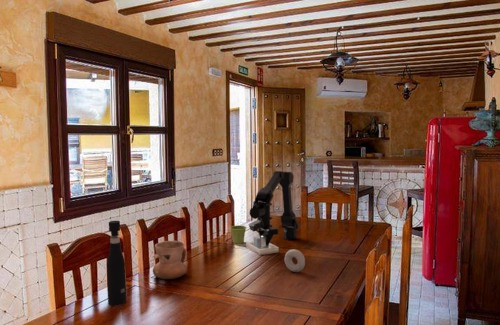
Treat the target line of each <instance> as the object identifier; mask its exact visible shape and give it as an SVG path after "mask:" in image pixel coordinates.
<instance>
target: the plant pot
mask: <svg viewBox="0 0 500 325" xmlns="http://www.w3.org/2000/svg"><path fill="white" fill-rule="evenodd" d="M229 229H230V231H231V238H232V243H233V244H235V245H237V244H238V245H239V244H244V243H245V242H244V241H245V236H246V235H245V234H246V230H247V226H245V225H232V226H230V227H229Z"/></svg>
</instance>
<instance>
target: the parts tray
mask: <svg viewBox="0 0 500 325" xmlns="http://www.w3.org/2000/svg"><path fill="white" fill-rule="evenodd" d="M245 248H247V249H248V250H250V251H252V252H254V253H255V254H257V255H259V256H262V255H270V254H275V253H279V248H280V247H279V246H277V245H275V244H274V243H273V244H272V243H269V248H262V247H260V248H257V247H255V246H254V241H250V242H249V241H248V242H246V243H245Z"/></svg>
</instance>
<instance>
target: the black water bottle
mask: <svg viewBox="0 0 500 325" xmlns="http://www.w3.org/2000/svg"><path fill="white" fill-rule="evenodd" d="M108 231H109V232H110V238H109V240H110V241H109V252H108V255H107V261H106V278H107V279H106V284H107V302H108V305H109V306H114V307H115V306H121V305H125V303H126V302H127V283H126V282H127V277H126V262H125V257H124V254H123V251H122V247H121V244H122V243H121V241H120V237H119V232H120V231H121V221H120V220H111V221H109V222H108Z"/></svg>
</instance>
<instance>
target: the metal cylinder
mask: <svg viewBox="0 0 500 325" xmlns="http://www.w3.org/2000/svg"><path fill="white" fill-rule="evenodd" d="M261 247H262V248H269V245H268V246H266V243H265V236H264V235H261Z"/></svg>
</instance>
